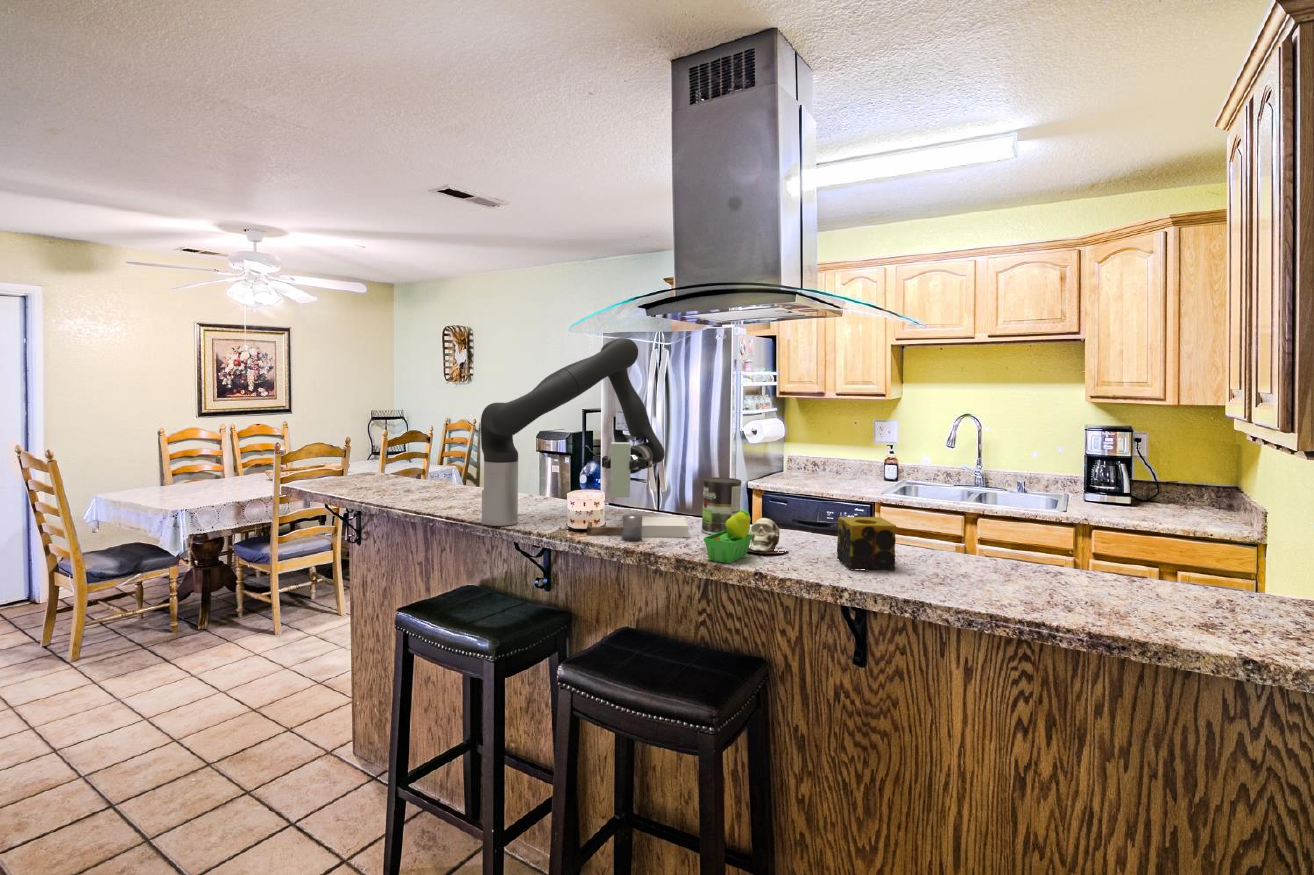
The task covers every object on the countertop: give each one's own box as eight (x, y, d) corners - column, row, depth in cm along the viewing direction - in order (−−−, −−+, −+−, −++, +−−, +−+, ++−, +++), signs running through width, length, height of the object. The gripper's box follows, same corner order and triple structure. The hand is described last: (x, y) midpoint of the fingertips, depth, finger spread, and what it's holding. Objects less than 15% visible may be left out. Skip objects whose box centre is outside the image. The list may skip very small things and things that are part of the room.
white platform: (637, 536, 176) (637, 525, 175) (636, 527, 188) (637, 516, 187) (688, 537, 176) (688, 525, 176) (684, 528, 188) (684, 517, 188)
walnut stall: (586, 535, 177) (586, 527, 176) (588, 527, 187) (589, 519, 187) (629, 535, 177) (629, 527, 177) (629, 527, 188) (629, 520, 187)
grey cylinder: (622, 541, 170) (622, 517, 170) (621, 537, 175) (622, 513, 175) (642, 541, 170) (643, 517, 170) (641, 537, 175) (641, 514, 175)
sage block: (610, 497, 179) (610, 443, 179) (611, 494, 184) (611, 442, 184) (629, 497, 180) (630, 444, 179) (630, 494, 185) (630, 442, 184)
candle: (879, 560, 156) (881, 516, 156) (896, 571, 146) (898, 525, 146) (835, 559, 156) (837, 516, 155) (849, 571, 146) (851, 524, 145)
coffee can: (713, 536, 178) (715, 482, 177) (694, 529, 187) (696, 477, 186) (747, 534, 182) (749, 481, 181) (727, 527, 192) (728, 476, 191)
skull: (784, 554, 155) (756, 518, 157) (751, 580, 159) (724, 544, 162) (799, 543, 166) (772, 509, 168) (767, 567, 170) (742, 534, 172)
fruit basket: (723, 551, 162) (724, 503, 161) (758, 556, 157) (760, 507, 157) (701, 560, 152) (702, 510, 151) (738, 566, 148) (739, 514, 147)
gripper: (610, 444, 197) (592, 449, 180) (659, 446, 194) (645, 451, 177) (609, 471, 197) (592, 478, 181) (658, 473, 194) (645, 480, 178)
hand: (618, 465), depth 179 cm, fingers closed on sage block, 6 cm apart
